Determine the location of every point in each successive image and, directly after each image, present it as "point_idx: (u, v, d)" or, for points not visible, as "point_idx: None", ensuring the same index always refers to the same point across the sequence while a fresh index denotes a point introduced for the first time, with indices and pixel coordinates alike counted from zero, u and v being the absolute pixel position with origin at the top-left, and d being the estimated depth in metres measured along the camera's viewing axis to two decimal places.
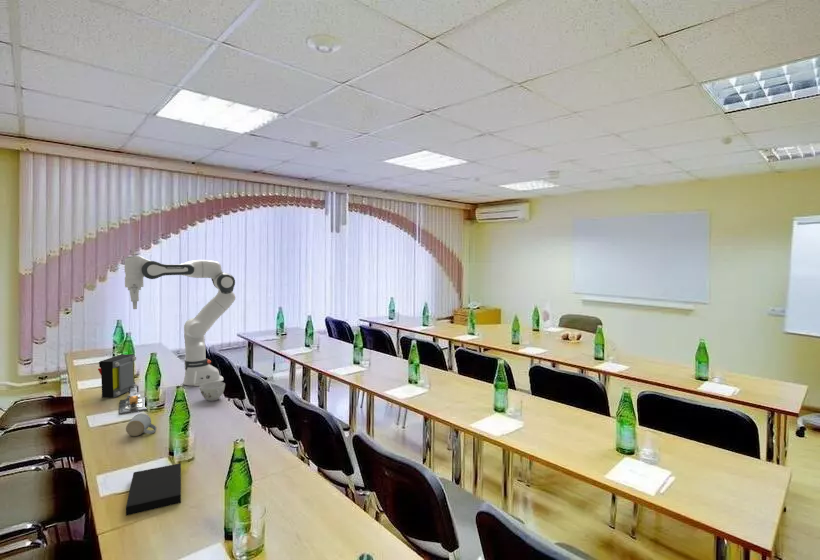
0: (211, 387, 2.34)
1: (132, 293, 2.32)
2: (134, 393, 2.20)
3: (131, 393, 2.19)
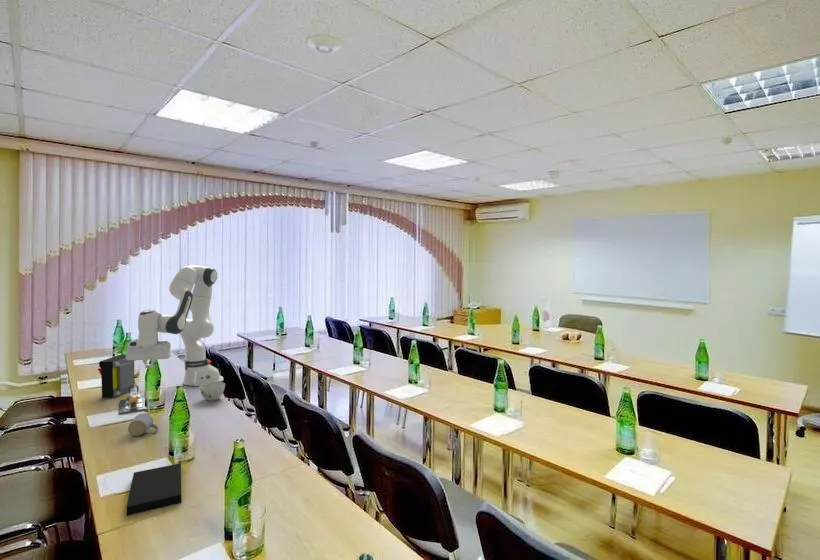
0: (211, 387, 2.34)
1: (168, 350, 2.21)
2: (134, 393, 2.20)
3: (131, 393, 2.19)
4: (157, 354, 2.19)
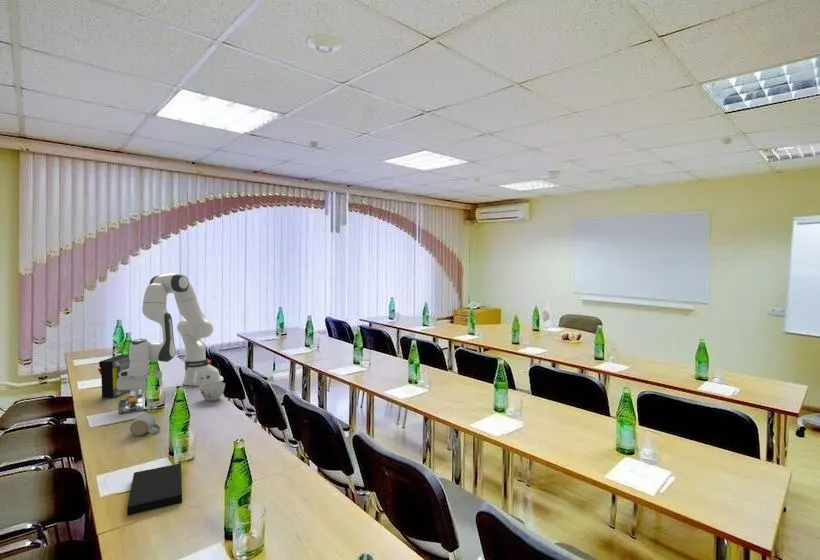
0: (211, 387, 2.34)
1: (160, 379, 2.21)
2: (134, 393, 2.19)
3: (131, 393, 2.19)
4: None
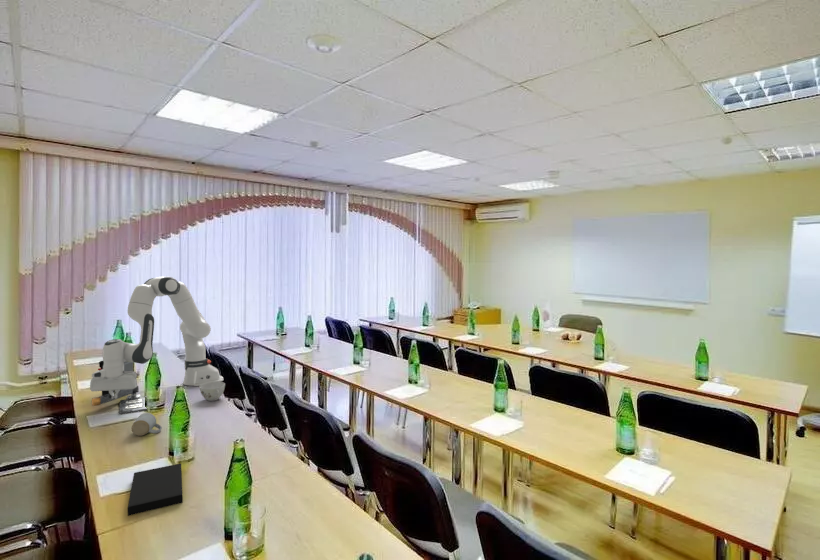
0: (211, 387, 2.34)
1: (134, 380, 2.18)
2: (109, 394, 2.17)
3: (109, 393, 2.19)
4: (123, 384, 2.16)
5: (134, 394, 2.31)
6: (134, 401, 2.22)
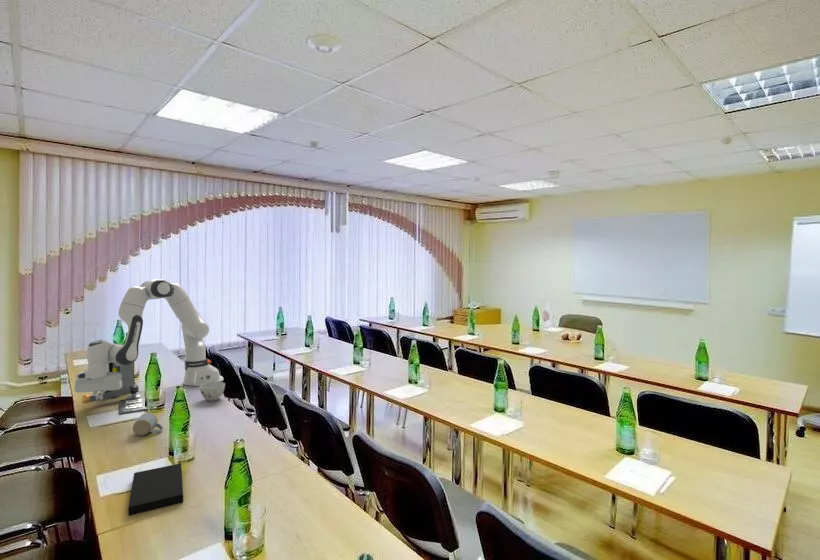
0: (211, 387, 2.34)
1: (119, 381, 2.17)
2: None
3: None
4: (108, 385, 2.15)
5: (134, 394, 2.31)
6: (134, 401, 2.22)
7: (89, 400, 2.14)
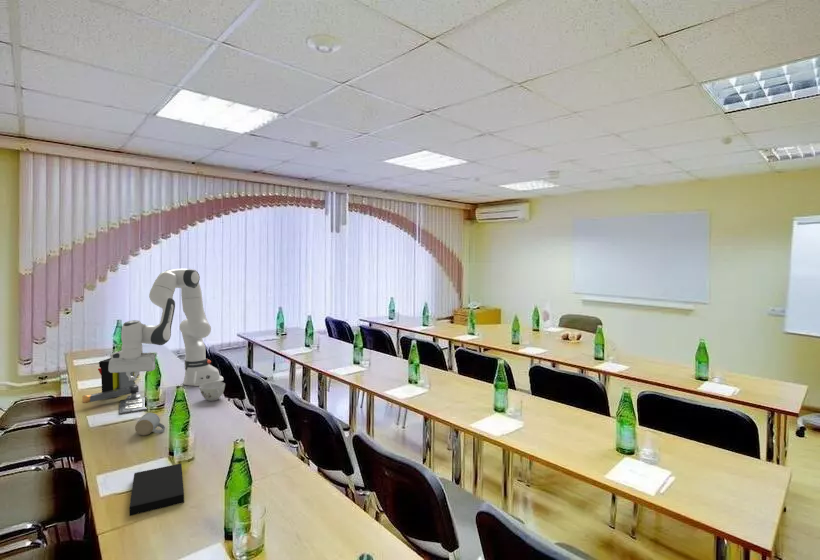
0: (211, 387, 2.34)
1: (153, 361, 2.15)
2: (102, 393, 2.20)
3: (103, 392, 2.21)
4: (141, 366, 2.13)
5: (134, 394, 2.31)
6: (134, 401, 2.22)
7: (89, 400, 2.14)
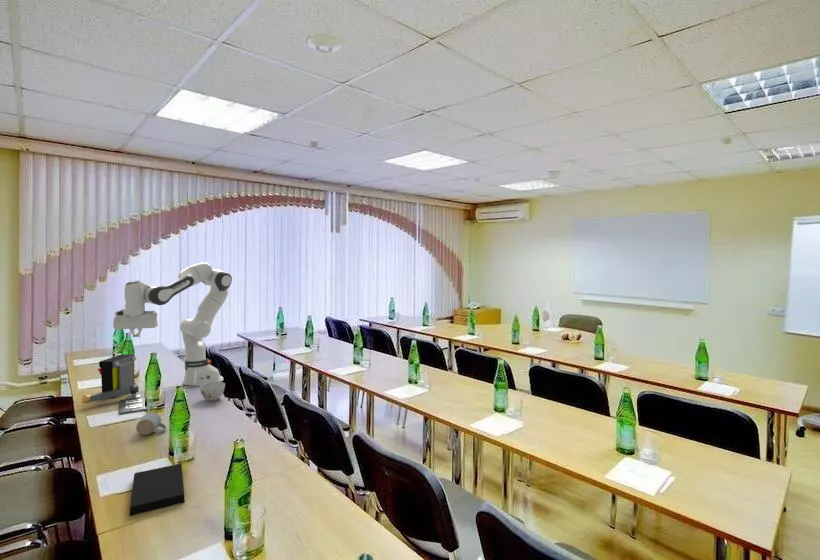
0: (211, 387, 2.34)
1: (155, 319, 2.28)
2: (102, 393, 2.20)
3: (103, 392, 2.21)
4: (144, 323, 2.26)
5: (134, 394, 2.31)
6: (134, 401, 2.22)
7: (89, 400, 2.14)
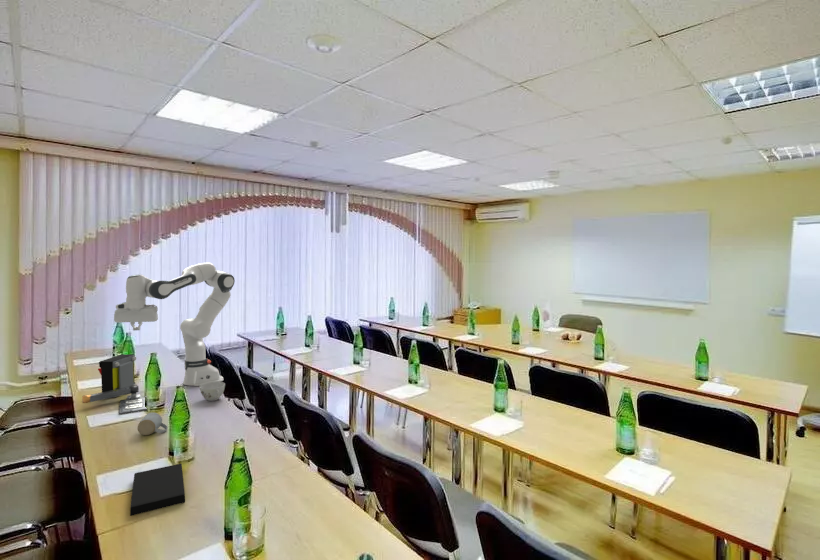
0: (211, 387, 2.34)
1: (155, 313, 2.30)
2: (102, 393, 2.20)
3: (103, 392, 2.21)
4: (145, 316, 2.28)
5: (134, 394, 2.31)
6: (134, 401, 2.22)
7: (89, 400, 2.14)
